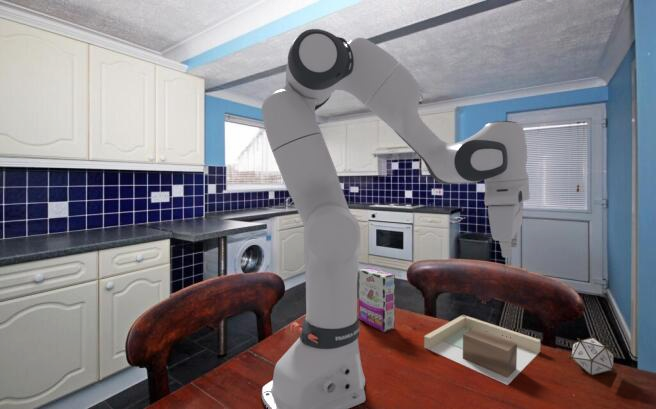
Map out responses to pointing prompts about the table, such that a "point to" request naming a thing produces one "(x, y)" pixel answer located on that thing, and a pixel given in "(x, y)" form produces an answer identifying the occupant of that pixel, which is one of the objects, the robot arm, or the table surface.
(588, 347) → the game die
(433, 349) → the arena
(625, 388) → the table surface
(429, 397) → the table surface
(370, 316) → the candy bar box
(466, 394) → the table surface
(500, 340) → the walnut block
